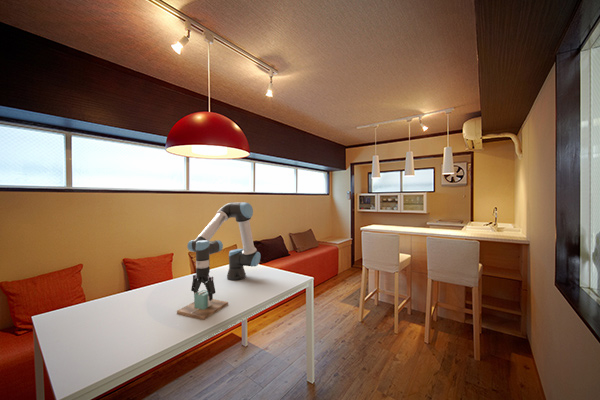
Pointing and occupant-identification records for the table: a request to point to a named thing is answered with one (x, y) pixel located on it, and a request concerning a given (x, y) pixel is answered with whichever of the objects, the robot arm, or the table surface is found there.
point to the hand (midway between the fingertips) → (203, 304)
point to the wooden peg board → (201, 313)
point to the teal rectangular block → (201, 299)
